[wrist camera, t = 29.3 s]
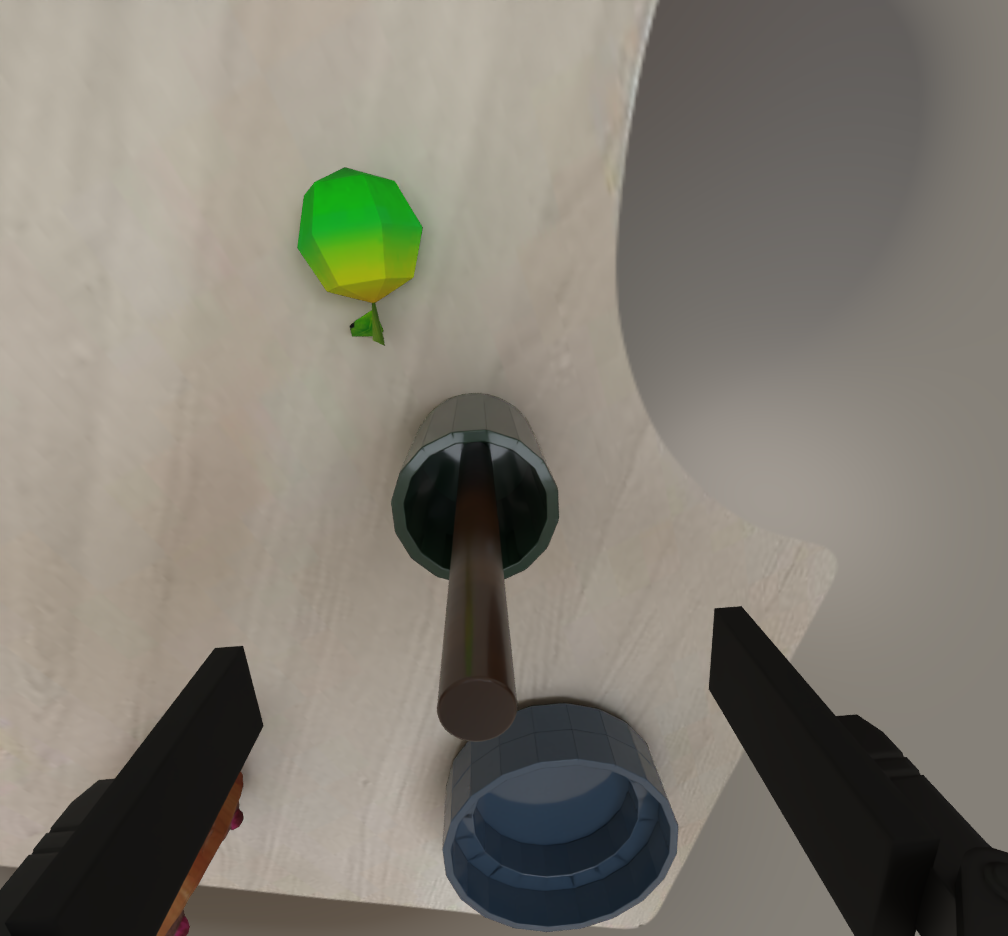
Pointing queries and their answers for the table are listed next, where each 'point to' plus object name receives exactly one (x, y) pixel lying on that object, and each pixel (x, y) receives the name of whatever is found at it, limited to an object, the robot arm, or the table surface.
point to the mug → (204, 861)
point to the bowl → (557, 820)
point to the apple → (359, 239)
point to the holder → (434, 482)
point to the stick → (476, 613)
